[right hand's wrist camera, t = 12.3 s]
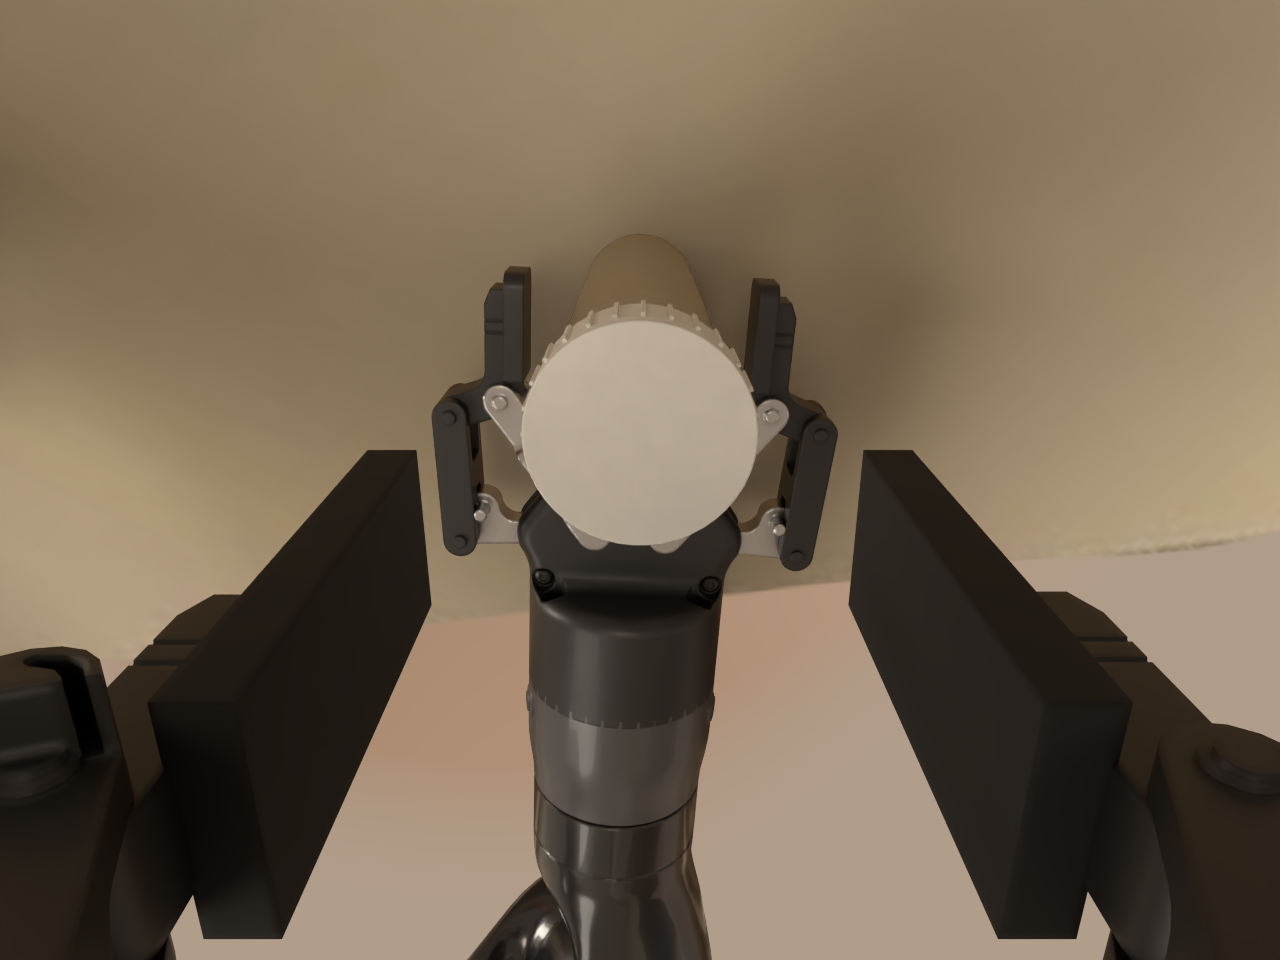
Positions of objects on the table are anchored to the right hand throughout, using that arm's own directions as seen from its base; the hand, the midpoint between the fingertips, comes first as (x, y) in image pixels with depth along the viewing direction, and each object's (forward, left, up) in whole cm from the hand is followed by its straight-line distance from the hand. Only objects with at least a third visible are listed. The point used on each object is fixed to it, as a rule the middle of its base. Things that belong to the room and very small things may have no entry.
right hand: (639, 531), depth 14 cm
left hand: (0, -1, -18) cm, 18 cm away
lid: (0, 0, -5) cm, 5 cm away
